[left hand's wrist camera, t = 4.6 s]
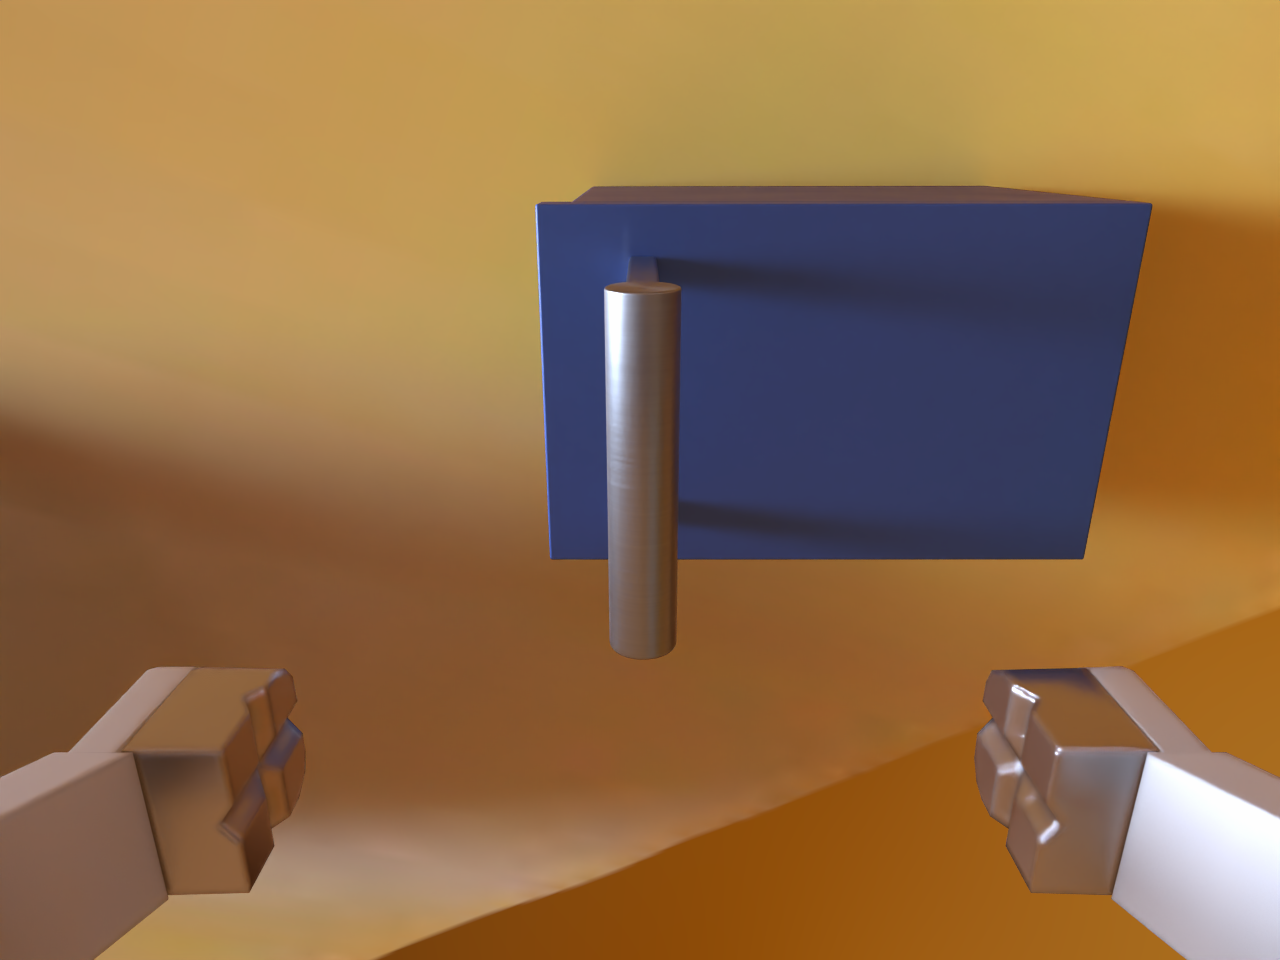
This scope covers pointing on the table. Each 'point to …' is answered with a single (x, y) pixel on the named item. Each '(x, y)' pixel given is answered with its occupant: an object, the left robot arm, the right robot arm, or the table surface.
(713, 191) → the chest
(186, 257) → the table surface
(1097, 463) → the lid
